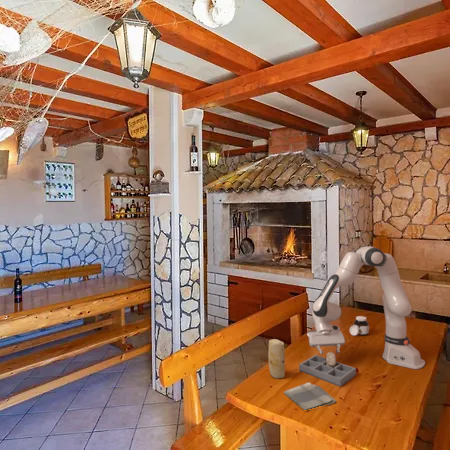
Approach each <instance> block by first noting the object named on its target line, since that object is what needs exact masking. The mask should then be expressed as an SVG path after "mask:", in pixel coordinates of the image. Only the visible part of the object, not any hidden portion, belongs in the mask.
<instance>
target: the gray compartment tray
mask: <svg viewBox="0 0 450 450" xmlns="http://www.w3.org/2000/svg"><path fill="white" fill-rule="evenodd" d="M298 371H299V372H301V373H304V374H306V375H309V376H311V377H314V378H316V379H320V380H322V381H324V382H327V383H329V384H332V385H335V386H337V387H339V386H340V387H339V388H341V387H342V386H344V385H346V384H347V383H348V382H349V381H350V380H351V379H353V378H354V377H356V375H357V368H356V367H353V366H350V365H347V364H343V363H341V362H339V361H335V367H334V368H332V367H329V366H327V358H325V357H323V356H320V355H317V354H314V355H313V356H310V357H309V358H307V359H306V360H304V361H302V362H301V363H299V365H298Z"/></svg>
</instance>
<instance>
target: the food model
mask: <svg viewBox="0 0 450 450" xmlns="http://www.w3.org/2000/svg"><path fill="white" fill-rule="evenodd" d="M285 353H286V352H285V343H284V341H281V340H279V339H276V338H273V339H269V340H268V357H267V358H268V369H269V373H270V375H271V377H272V378H274V379H283V378H285V375H286V372H285V371H286V362H285V361H286V354H285Z"/></svg>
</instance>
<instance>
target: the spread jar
mask: <svg viewBox="0 0 450 450" xmlns="http://www.w3.org/2000/svg"><path fill="white" fill-rule="evenodd" d="M369 330H370V323H369V321H367V317H366V316H361V315H358V316H355V320H354V321H353V325H351V326H350V327H349V330H348V331H349V333H350V334H351V336H354V337H355V336H363V337H364V336H367V335H368V334H369Z"/></svg>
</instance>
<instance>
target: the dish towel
mask: <svg viewBox="0 0 450 450" xmlns="http://www.w3.org/2000/svg"><path fill="white" fill-rule="evenodd" d="M283 394H284V395H285V396H286V397H288V398H289V400H291V401H292V402H293V403H294V402H295V404H296V405H297V406H298V407H299V406H300V407H301V408H302V409H301V408H300V407H299V408H300V409H301V410H303V409H304V410H308V409H312V408H316V407H319V406H324V405H328V406H331V405H334V404H336V403H337V399H335V397H334V396H332V395H330V394H329V393H328V392H327V391H325V390H324V389H323V388H322V387H321V386H320V385H316V384H312V383H311V382H310V381H309V382H306V383H303V384H301V385H298V386H295V387H292V388H290V389H286V390H285V391H284V392H283ZM333 403H334V404H333ZM330 404H331V405H330ZM304 410H303V411H304Z"/></svg>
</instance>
